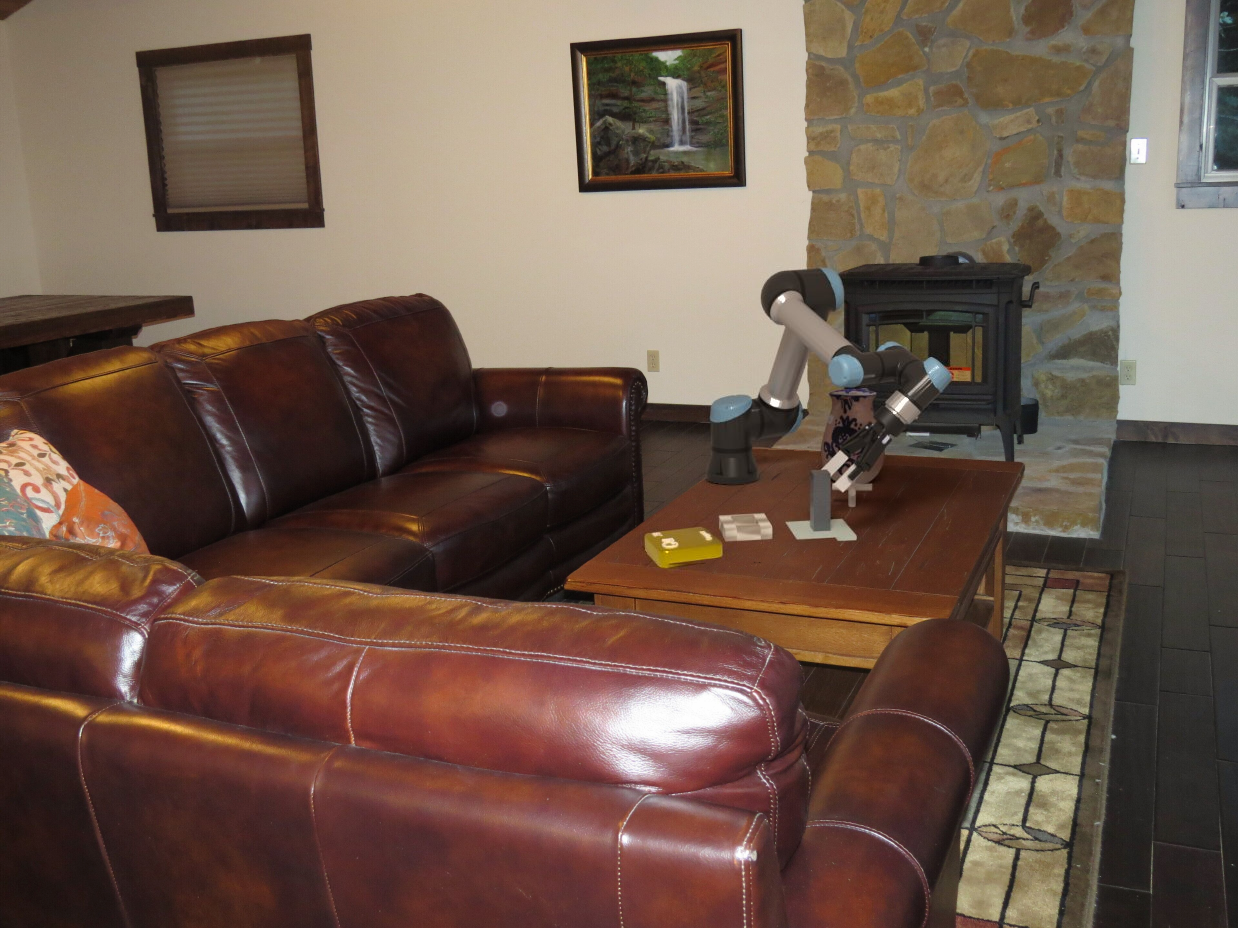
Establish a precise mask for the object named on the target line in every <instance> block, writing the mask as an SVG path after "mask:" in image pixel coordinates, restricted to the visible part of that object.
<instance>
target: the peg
mask: <svg viewBox="0 0 1238 928" xmlns="http://www.w3.org/2000/svg"><path fill="white" fill-rule="evenodd" d="M831 480H832V478H831V473H830V472H829V471H828V470H827V469H826V470H821V469H813V470H812V469H811V470H809V521H810V527H811V529H812V530H813V531H814V532H817V531H830V522H831V513H832V512H831V499H832V498H831V495H832V494H831V493H832V492H831V491H832V487H831V484H832V483H831V482H832V481H831Z"/></svg>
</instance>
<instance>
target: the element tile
mask: <svg viewBox="0 0 1238 928" xmlns="http://www.w3.org/2000/svg"><path fill="white" fill-rule="evenodd" d="M645 551H646V552H647V553H646V552H645ZM644 552H645V553H646V554H647V555H648V556H649V558H650V559H651V560H652V561H653V562H654V563H655V564H656V565H657V566H658V567H659V568H661V569H664V568H665V569H670V568H671V569H672V568H678V567H679V568H680V567H687V566H694V565H703V564H705V562H701V563H700V562H698V563H685V562H692V561H701V560H709V559H716V558H721V557H722V556H723V543H722V541H721V540H720V539H718V538H717V537H716V536H715V535H714V534H712V533H711V532H710V531H709V530H708V529H707V528H705V527H703V526H696V527H695V526H694V527H689V528H687V527H686V528H680V529H671V530H663V531H654V532H648V533H646V534H645V535H644ZM676 563H681V564H676Z"/></svg>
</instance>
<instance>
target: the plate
mask: <svg viewBox="0 0 1238 928" xmlns="http://www.w3.org/2000/svg"><path fill="white" fill-rule="evenodd" d="M785 524H786V525H787V527H788V529H789V530H790V531H791V533H792V534H793V536H794V537H795V539H796V540H808V539H809V540H811V539H826V538H828V539H829V538H835V539H836V540H837V542H842V541H843V542H844V541H846V542H847V541H857V538H858V537H857V534H856V533H855V532H854V530H852V529H851V527H850V526H849V525H848V524H847V522H846V521H844V519H843V518H836V519H831V522H830V531H817V532H814V531H813V530H812V529H811V527H810V520H799V521H798V520H797V521H785Z"/></svg>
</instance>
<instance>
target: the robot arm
mask: <svg viewBox="0 0 1238 928" xmlns="http://www.w3.org/2000/svg"><path fill="white" fill-rule="evenodd" d="M844 300H845V288H844V285H843V281H842V278H841V277H840V275H839V274H838V272H836V270H834V269H832V268H830V267H819V266H817V267H815V268H804V269H791V270H782V271H777V272H775V273H774V274H772V275H771V276H770V277H768V279H766V280H765V282H764V284H763V286H762V289H761V293H760V304H761V307H762V310H763V312H764V314H765V315H766V316H767V317H768V318H769V319H770V320H771V321H772V323H774V324H775V325H778V326H784V330H783V333H782V336H781V340H780V342H779V346H778V349H777V352H776V356H775V359H774V361H773V365H772V368H771V371H770V374H769V377H768V381H767V383H765V384H763V385H761V387H760V388H759V392H758V395H757V397H755V398H752V396H750V395H748V394H736V395H734V394H733V395H727V396H723V397H720V398H718V399H716V400H714V401H713V402H712V403H711V405H710V414H709V420H710V446H711V447H710V449H711V454H710V456H709V461H708V463H707V467H706V470H705V480H706V479H708V480H706V481H707V482H709V481H710V482H709V483H711V482H713V483H712V484H715V483H718V484H717V485H723V484H726V486H727V485H729V486H733V485H734V486H736V485H746V484H747V485H748V484H751V483H754V482H756V481H759V479H760V471H759V468H758V467H759V466H758V464H757V461H756V458H755V455H754V453H753V441H755V440H762V439H770V438H778V437H780V438H781V437H783V436H784V437H785V436H787V435H791V434H794V433H795V432H796V431H797V430H798V429H799V428H800V427H801V424H802V421H803V417H804V416H803V415H804V412H803V409H804V408H803V404H802V402H801V400H800V396H799V394H798V390H799V386H800V383H801V381H802V378H803V374H804V372H805V369H806V365H807V363H808V361H809V360H808V359H809V357H810V354H811V352H812V353H813V354H814V355H815V356H816V357H818V359H820V360H821V361H822V362H823V363H824V364H826V366H827V367H828V371H827V372H828V377H829V378H830V379H831V380H830V381H831V383H832V384H833V385H834V386H835V387H837V388H855V387H860V386H867V385H873V384H882V383H887V382H895V383H897V384H898V385H899V386H900V387H899V388H898V389H897V390H895V392H893V394H892V395H890V397H889V398H888V399H887V400H886V401H885V405H881V406H880V408H878V410H877V411H875V412H874V415H873V418H874V419H875V420H876V421H877V422H876V423H875V424H873V423H872V422H871V421H870V422H868V423H867V424H866V425H865V426H864V427H863V428H862V429H860V430H859V431H858V432H856V433H855V434H854V435H852V436H851V437H850V438H848V439H847V440H846V441H844V442H843V443H842V444H841V445H840V446H841V449H840V450H841V451H839V452H838V453H837V454H836V455H835V456H834V457H833V458H832V459H831V460H830V461H829V462H828V463H827V464H826V465H825V466H824V467H823V466H822V468H821V469H820V470H826V469H827V470H828V471H829V472H830V473H831V476H832V475H833V474H834V473H835V472H836V471H837V470H838V469H839V468H840V467H841V466H842V464H843V463H844V462H845V461H846V460H847V459H848V458H850V457H851V454H853V453H854V452H856V451H858V450H859V449H861V448H863V447H865V446H866V447H865V448H864V450H863V452H862V454H861V456H860V458H859V460H858V461H855V462H854V464H853V465H852V466H851V467H850V468H849V469H848V470H847V471H846V472H845V473H844V474H843V475H842V476H841V477H840V478H839V479H838V480H837V481H835V482H833V483H834V485H835V486H836V487H837V488H839V489H840V490H839V491H840V492H842V493H844V492H845V491H847V490H846V489H847V488H848V487H849V486H850V485H851V484H852V483H853V482H854V481H855V480H856V479H857V478H858V477H859V476H860V474H861V473H862V471H863V472H865V471H867V472H869V471H870V470H871V469H872V467H873V466H874V464H875V463H876V461H877V460H878V458H879V457H880V455H881V454H882V452H883V451H884V450H885V449H886V448H887V447H888V446H889V445H890V444H891V443H892V441H893V438H898V437H899V436H900V435H901V434H902V433H903V432H904V431H905V430H906V429H907V425H910V424H911V423H912V422H913V421H914V420H918V418H919V415H920V414H921V413H922V412H923V411H924V409H925V408H926V407H927V406H928V405H930V404H931V403H932V402H933V401H934V400H935V399H936V398H937V397H938V396H939V395H940V394H941V393H943V392H944V390H945V389H946V388H947V387H948V385H949V384H950V383H951V382H952V380H953V375H952V373H951V371H950V370H949V369H948V368H947V367H946V366H945V365H944V364H942V362H940V361H939V360H938V359H936V358H934V357H932V356H931V357H928V358H927V359H926V360H924V361H923V360H921V359H920V358H918V357H917V356H916V355H915V354H914V353H912V352H911V351H910V350H909V349H908V348H907V347H906V346H903V345H902V344H900V343H898V342H896V341H887V342H884V344H882V345H880V346H879V347H878V348H877V349H876V351H868V352H867V351H866V352H862V351H860V350H859V349H858V348H857V347H855V346H854V345H853V344H852V343H851V342H849V340H848V339H846V338H845V337H844V336H843V335H841V334H840V333H839V332H838V331H837V330H836V329H835V328H833V326H831V325H830V324H829V323H828V322H827V321H828V318H829V315H830V313H832V312H836V311H838V310H840V309H841V307H842V306H843V304H844V302H845V301H844ZM890 435H891V436H892V437H893V438H891V436H890Z"/></svg>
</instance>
